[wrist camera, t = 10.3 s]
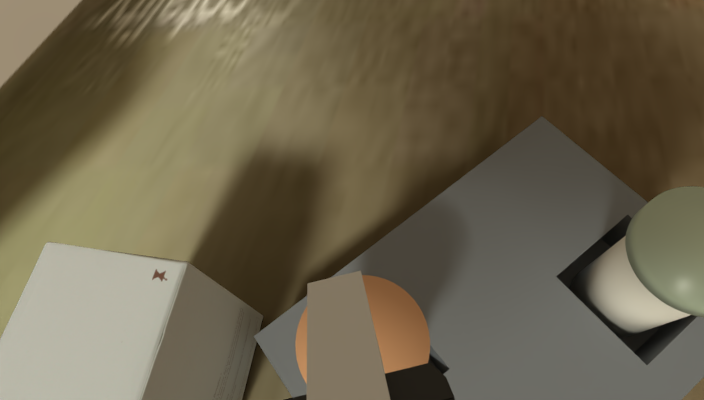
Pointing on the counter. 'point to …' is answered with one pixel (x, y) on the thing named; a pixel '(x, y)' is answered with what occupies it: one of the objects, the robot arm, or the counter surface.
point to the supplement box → (125, 331)
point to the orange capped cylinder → (385, 327)
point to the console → (519, 284)
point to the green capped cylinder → (650, 267)
